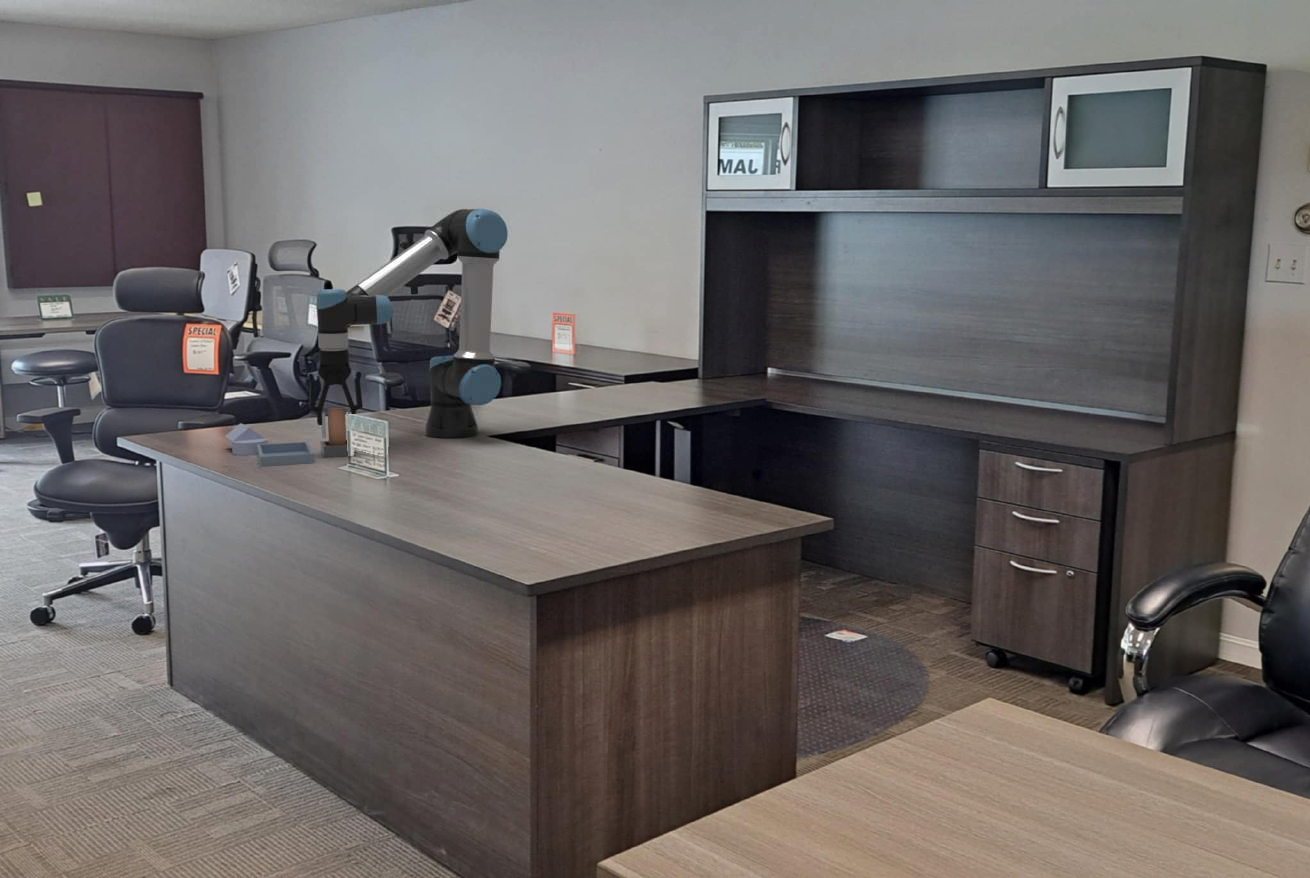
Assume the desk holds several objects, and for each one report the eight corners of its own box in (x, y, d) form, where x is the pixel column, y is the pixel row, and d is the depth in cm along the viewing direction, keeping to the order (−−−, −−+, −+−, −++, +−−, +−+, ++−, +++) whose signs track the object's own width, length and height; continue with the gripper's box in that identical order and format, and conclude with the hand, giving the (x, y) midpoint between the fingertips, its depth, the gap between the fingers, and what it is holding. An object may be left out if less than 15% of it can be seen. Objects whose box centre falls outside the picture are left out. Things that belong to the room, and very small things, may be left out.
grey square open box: (351, 452, 328) (351, 439, 328) (355, 458, 321) (354, 444, 320) (321, 454, 325) (320, 441, 325) (324, 460, 318) (323, 446, 317)
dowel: (345, 452, 326) (343, 407, 324) (347, 455, 322) (345, 410, 320) (328, 453, 324) (326, 408, 322) (330, 456, 320) (328, 411, 318)
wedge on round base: (225, 448, 333) (237, 456, 322) (223, 424, 332) (235, 431, 321) (258, 445, 338) (271, 453, 327) (257, 421, 337) (270, 428, 326)
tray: (308, 452, 328) (307, 441, 328) (314, 465, 311) (313, 453, 311) (257, 455, 324) (256, 444, 323) (260, 468, 307) (260, 456, 306)
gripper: (368, 346, 325) (372, 432, 329) (294, 348, 318) (298, 436, 322) (372, 349, 318) (375, 436, 322) (296, 351, 311) (301, 441, 315)
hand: (337, 436), depth 322 cm, fingers open, 6 cm apart
